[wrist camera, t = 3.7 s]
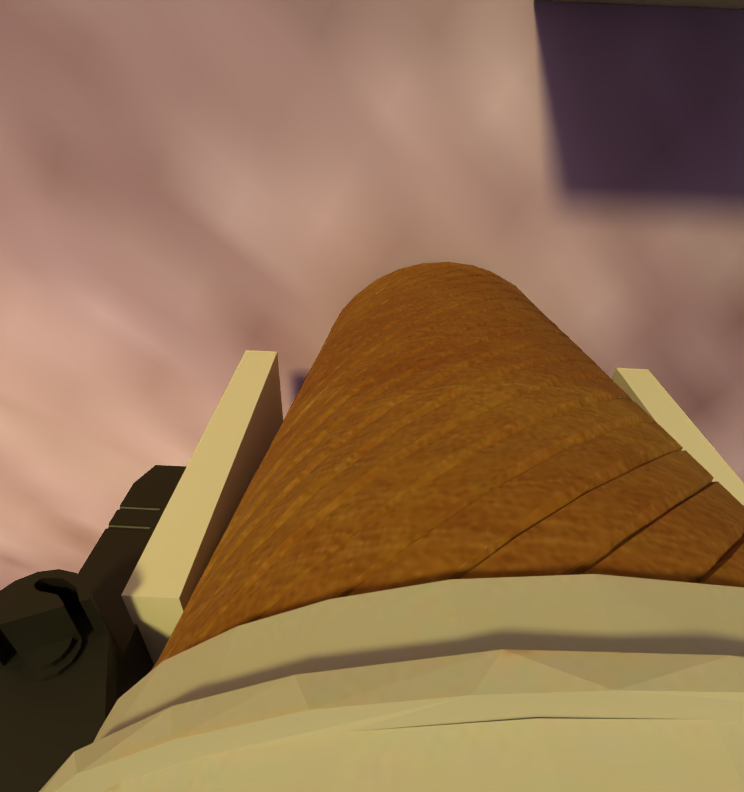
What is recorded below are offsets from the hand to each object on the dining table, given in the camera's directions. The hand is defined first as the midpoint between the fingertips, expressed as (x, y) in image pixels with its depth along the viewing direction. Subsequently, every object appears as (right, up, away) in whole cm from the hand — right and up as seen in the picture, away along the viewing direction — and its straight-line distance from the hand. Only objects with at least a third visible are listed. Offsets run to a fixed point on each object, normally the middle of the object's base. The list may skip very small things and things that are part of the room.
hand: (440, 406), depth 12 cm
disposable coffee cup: (0, +1, +2) cm, 2 cm away
